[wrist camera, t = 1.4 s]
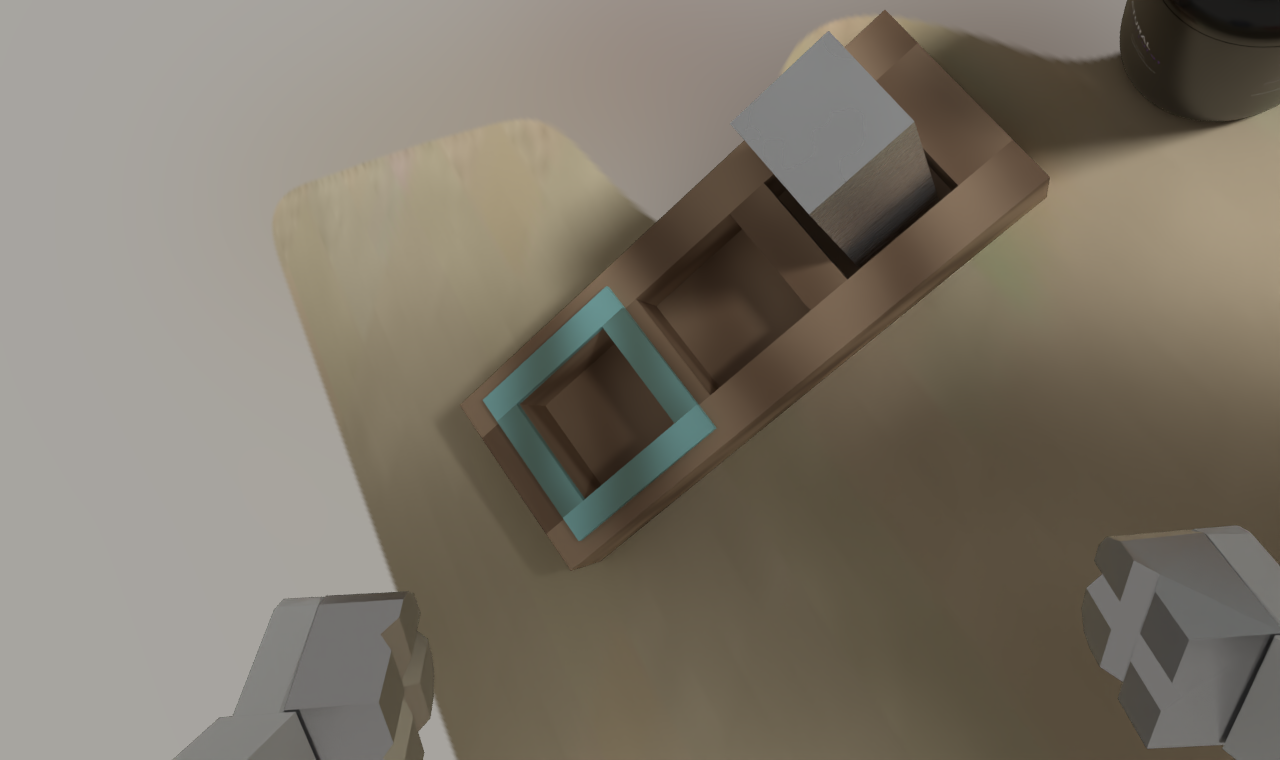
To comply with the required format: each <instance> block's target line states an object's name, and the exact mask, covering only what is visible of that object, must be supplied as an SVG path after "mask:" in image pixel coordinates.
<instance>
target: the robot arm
mask: <svg viewBox="0 0 1280 760" xmlns="http://www.w3.org/2000/svg"><path fill="white" fill-rule="evenodd" d="M1094 561H1095V563H1096V565H1097V566H1098V568H1099V569H1100V571H1101V573H1102V575H1101V576H1100V577H1098V578H1097V579H1096V580H1095V581H1094V582H1093V583H1092V584H1090V585H1089V586H1088V587H1087V588H1086V592H1085V596H1084V601H1083V605H1082V617H1083V627H1084V633H1085V636H1086V639H1087V642H1088V645H1089V647H1090V650H1091V652H1092V653H1093V655H1094V657H1095V659H1096V661H1097V663H1098V664H1099V666H1100V667H1101V668H1102V669H1104V670H1105V671H1107V672H1108V673H1110V674H1111V675H1113V676H1114V677H1116V678H1117V679H1119V680H1120V681H1122V684H1121V689H1120V693H1119V697H1118V700H1119V701H1120V703H1121V705H1122V707H1123V708H1124V710H1125V712H1126V714H1127V715H1128V717H1129V719H1130V721H1131V722H1132V724H1133V726H1134V727H1135V729H1136V731H1137V733H1138V734H1139V736H1140V738H1141V740H1142V741H1143V743H1144V745H1145V747H1146V748H1147V749H1151V748H1171V747H1191V746H1211V745H1224V746H1223V748H1222V749H1223V750H1225V751H1226V752H1227V753H1228V754H1230V755H1231V756H1232V757H1233V758H1235V759H1236V760H1280V565H1279V564H1278V563H1277V562H1276V561H1275V560H1274V559H1273V557H1272V556H1271V555H1270V554H1269V553H1268V552H1267V551H1266V549H1265V548H1264V547H1263V546H1262V545H1261V544H1260V543H1259V542H1258V540H1257V539H1256V538H1255V537H1254V536H1253V535H1252V534H1251V533H1250V532H1249V531H1248V530H1246V529H1244V528H1242V527H1240V526H1238V525H1235V526H1223V527H1211V528H1200V529H1193V530H1176V531H1165V532H1154V533H1142V534H1131V535H1119V536H1108V537H1106V538H1105V539H1104V540H1103V541H1102V542H1101V544H1100V545H1099V547H1098V550H1097V553H1096V557H1095V560H1094ZM419 618H420V610H419V607H418V604H417V601H416V598H415V595H414V593H411V592H389V593H371V594H353V595H334V596H333V595H332V596H326V597H311V598H291V599H283V601H282V602H281V603H280V604H279V605H278V606H277V607H276V608H275V610H274V611H273V614H272V616H271V619H270V622H269V624H268V627H267V629H266V632H265V634H264V637H263V640H262V642H261V645H260V647H259V650H258V652H257V655H256V657H255V660H254V662H253V665H252V668H251V670H250V673H249V675H248V678H247V681H246V683H245V686H244V688H243V691H242V694H241V696H240V698H239V701H238V704H237V706H236V709H235V711H234V714H233V716H230V717H221V718H219V719H217V720H216V721H215V722H214V723H213V724H212V725H211V726H210V727H208V728H207V729H206V730H205V731H204V732H203V733H202V734H201V735H200V736H199V737H197V738H196V739H195V740H194V741H193V742H192V743H191V744H189V746H187V747H186V748H185V749H184V750H183V751H182V752H181V753H180V754H178V755H177V756H176V757H175V758H174V759H173V760H423V756H424V750H423V747H422V743H421V740H420V737H419V734H418V731H419V730H420V729H421V728H422V727H423V726H424V725H425V724H426V722H427V721H428V720H429V719H430V716H431V710H432V704H433V697H434V666H433V658H432V652H431V648H430V645H429V641H428V639H427V638H426V637H425V636H423V635H422V634H420V633H419V632H418V631H417V628H418V623H419Z"/></svg>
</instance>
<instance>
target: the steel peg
mask: <svg viewBox="0 0 1280 760" xmlns="http://www.w3.org/2000/svg"><path fill="white" fill-rule="evenodd" d="M730 124H731V125H732V126H733V127H734V129H735V130H736V131H737V132H738V133H739V135H740V136H741V137H742V138H743V139H744V140H745V141H746V143H747V144H748V145H749V146H750V147H751V148H752V150H753V151H754V152H755V153H756V154H757V155H758V156H759V158H760V159H761V160H762V161H763V162H764V163H765V164H766V166H767V167H768V168H769V169H770V170H771V171H772V173H773V174H774V175H775V176H776V177H777V178H778V179H779V181H780V182H781V183H782V184H783V185H784V186H785V187H786V189H787V190H788V191H789V192H790V193H791V194H792V196H793V197H794V198H795V199H796V200H797V201H798V202H799V204H800V205H801V206H802V207H803V208H804V209H805V211H806V212H807V213H808V214H809V215H810V216H811V217H812V218H813V219H814V220H815V221H816V223H817V224H818V225H819V226H820V227H821V228H822V229H823V230H824V231H825V232H826V233H827V234H828V235H829V236H830V237H831V239H832V240H833V241H834V242H835V243H836V244H837V245H838V246H839V247H840V248H841V249H842V250H843V251H844V252H845V254H846V255H847V256H848V257H849V258H850V259H851V260H852V261H853V262H854V263H855V264H856V265H857V266H858V267H859V268H860V267H861V266H862V265H863V264H864V263H865V262H867V261H868V260H869V259H870V258H871V257H873V256H874V255H875V254H876V253H877V252H878V251H880V250H881V249H882V248H883V247H884V246H886V245H887V244H888V243H889V242H890V241H891V240H893V239H894V238H895V237H896V236H897V235H899V234H900V233H901V232H902V231H903V230H904V229H906V228H907V227H908V226H909V225H910V224H912V223H913V222H914V221H915V220H916V219H917V218H919V217H920V216H921V215H922V214H923V213H925V212H926V211H927V210H928V209H929V208H930V207H932V206H933V205H934V204H935V203H936V202H938V201H939V199H938V196H937V192H936V189H935V186H934V183H933V179H932V176H931V173H930V170H929V167H928V163H927V160H926V157H925V154H924V150H923V147H922V144H921V141H920V138H919V134H918V131H917V128H916V125H915V121H914V120H913V119H912V118H911V117H910V116H909V115H908V114H907V113H906V112H905V111H904V110H903V109H902V108H901V107H900V106H899V105H898V104H897V103H896V101H895V100H894V99H893V98H892V97H891V96H890V95H889V94H888V93H887V92H886V91H885V90H884V89H883V88H882V87H881V86H880V85H879V84H878V83H877V81H876V80H875V79H874V78H873V77H872V76H871V75H870V74H869V73H868V72H867V71H866V70H865V69H864V68H863V67H862V66H861V65H860V64H859V62H858V61H857V60H856V59H855V58H854V57H853V56H852V55H851V54H850V53H849V52H848V51H847V50H846V49H845V48H844V47H843V46H842V45H841V44H840V42H839V41H838V40H837V39H836V38H835V37H834V36H833V35H832V34H831V33H830V32H829V31H828V32H827V33H826V34H825V35H823V36H822V37H821V38H820V39H819V40H818V41H817V42H816V43H815V44H814V45H813V46H812V47H811V48H810V49H809V50H808V51H806V52H805V53H804V54H803V55H802V56H801V57H800V58H799V59H798V60H797V61H796V62H795V63H794V64H793V65H792V66H791V67H789V68H788V69H787V70H786V71H785V72H784V73H783V74H782V75H781V76H780V77H779V78H778V79H777V80H776V81H775V82H774V83H773V84H771V85H770V86H769V87H768V88H767V89H766V90H765V91H764V92H763V93H762V94H761V95H760V96H759V97H758V98H757V99H756V100H754V101H753V102H752V103H751V104H750V105H749V106H748V107H747V108H746V109H745V110H744V111H743V112H742V113H741V114H740V115H738V116H737V117H736V118H735V119H734V120H733V121H732V122H731V123H730Z"/></svg>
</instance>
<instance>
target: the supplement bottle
mask: <svg viewBox="0 0 1280 760" xmlns="http://www.w3.org/2000/svg"><path fill="white" fill-rule="evenodd" d="M1120 51H1121V57H1122V61H1123V64H1124V67H1125V70H1126V72H1127V74H1128V76H1129V78H1130V80H1131V81H1132V83H1133V84H1134V85H1135V87H1136V88H1137V89H1138V90H1139V92H1140V93H1141V94H1142V95H1143V96H1144V97H1146V98H1147V99H1148V100H1149V101H1150V102H1152V103H1153V104H1154V105H1156V106H1157V107H1159V108H1161V109H1163V110H1164V111H1167V112H1169V113H1171V114H1174V115H1176V116H1179V117H1183V118H1187V119H1191V120H1198V121H1209V122H1216V121H1230V120H1237V119H1242V118H1246V117H1250V116H1253V115H1256V114H1259V113H1262V112H1265V111H1267V110H1269V109H1271V108H1273V107H1275V106H1277V105H1279V104H1280V0H1127V3H1126V6H1125V10H1124V14H1123V18H1122V23H1121V30H1120Z"/></svg>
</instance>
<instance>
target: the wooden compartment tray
mask: <svg viewBox="0 0 1280 760" xmlns="http://www.w3.org/2000/svg"><path fill="white" fill-rule="evenodd" d="M844 48H845V49H846V50H847V51H848V52H849V53H850V54H851V55H852V56H853V57H854V58H855V59H856V60H857V61H858V62H859V64H860V65H861V66H862V67H863V68H864V69H865V70H866V71H867V72H868V73H869V74H870V75H871V76H872V77H873V78H874V79H875V80H876V81H877V83H878V84H879V85H880V86H881V87H882V88H883V89H884V90H885V91H886V92H887V93H888V94H889V95H890V96H891V97H892V98H893V99H894V100H895V101H896V103H897V104H898V105H899V106H900V107H901V108H902V109H903V110H904V111H905V112H906V113H907V114H908V115H909V116H910V117H911V118H912V119H913V120H914V121H915V125H916V128H917V131H918V134H919V138H920V141H921V144H922V147H923V150H924V154H925V157H926V160H927V163H928V167H929V170H930V173H931V176H932V179H933V183H934V186H935V189H936V192H937V196H938V199H939V201H938V202H936V203H935V204H934V205H933V206H932V207H930V208H929V209H928V210H927V211H926V212H925V213H923V214H922V215H921V216H920V217H919V218H917V219H916V220H915V221H914V222H913V223H912V224H910V225H909V226H908V227H907V228H906V229H904V230H903V231H902V232H901V233H900V234H899V235H897V236H896V237H895V238H894V239H893V240H891V241H890V242H889V243H888V244H887V245H886V246H884V247H883V248H882V249H881V250H880V251H878V252H877V253H876V254H875V255H874V256H873V257H871V258H870V259H869V260H868V261H867V262H865V263H864V264H863V265H862V266H861V267H860V268H859V267H858V266H857V265H856V264H855V263H854V262H853V261H852V260H851V259H850V258H849V257H848V256H847V255H846V254H845V252H844V251H843V250H842V249H841V248H840V247H839V246H838V245H837V244H836V243H835V242H834V241H833V240H832V239H831V237H830V236H829V235H828V234H827V233H826V232H825V231H824V230H823V229H822V228H821V227H820V226H819V225H818V224H817V223H816V221H815V220H814V219H813V218H812V217H811V216H810V215H809V214H808V213H807V212H806V211H805V209H804V208H803V207H802V206H801V205H800V204H799V202H798V201H797V200H796V199H795V198H794V197H793V196H792V194H791V193H790V192H789V191H788V190H787V189H786V187H785V186H784V185H783V184H782V183H781V182H780V181H779V179H778V178H777V177H776V176H775V175H774V174H773V173H772V171H771V170H770V169H769V168H768V167H767V166H766V164H765V163H764V162H763V161H762V160H761V159H760V158H759V156H758V155H757V154H756V153H755V152H754V151H753V150H752V148H751V147H750V146H749V145H748V144H747V143H746V141H745V140H744V141H743V142H742V143H741V144H740V145H739V146H738V147H737V148H736V149H735V150H733V151H732V152H731V153H730V154H729V155H728V156H727V157H726V158H725V159H724V160H723V161H722V162H721V163H720V164H718V165H717V166H716V167H715V168H714V169H713V170H712V171H711V172H710V173H709V174H708V175H707V176H706V177H705V178H704V179H702V180H701V181H700V182H699V183H698V184H697V185H696V186H695V187H694V188H693V189H692V190H690V191H689V192H688V193H687V194H686V195H685V196H684V197H683V198H682V199H681V200H680V201H679V202H678V203H677V204H676V205H674V206H673V207H672V208H671V209H670V210H669V211H668V212H667V213H666V214H665V215H664V216H663V217H661V219H659V220H658V221H657V222H656V223H655V224H654V225H653V226H652V227H651V228H650V229H649V230H647V231H646V232H645V233H644V234H643V235H642V236H641V237H640V238H639V239H638V240H637V241H636V242H635V243H633V244H632V245H631V246H630V247H629V248H628V249H627V250H626V251H625V252H624V253H623V254H622V255H621V256H619V257H618V258H617V259H616V260H615V261H614V262H613V263H612V264H611V265H610V266H609V267H608V268H607V269H606V270H604V271H603V272H602V273H601V274H600V275H599V276H598V277H597V278H596V279H595V280H594V281H593V282H592V283H590V284H589V285H588V286H587V287H586V288H585V289H584V290H583V291H582V292H581V293H580V294H579V295H578V296H576V297H575V298H574V299H573V300H572V301H571V302H570V303H569V304H568V305H567V306H566V307H565V308H564V309H562V310H561V311H560V312H559V313H558V314H557V315H556V316H555V317H554V318H553V319H552V320H551V321H550V322H549V323H547V324H546V325H545V326H544V327H543V328H542V329H541V330H540V331H539V332H538V333H537V334H536V335H535V336H533V337H532V338H531V339H530V340H529V341H528V342H527V343H526V344H525V345H524V346H523V347H522V348H521V349H519V350H518V351H517V352H516V353H515V354H514V355H513V356H512V357H511V358H510V359H509V360H508V361H507V362H506V363H504V364H503V365H502V366H501V367H500V368H499V369H498V370H497V371H496V372H495V373H494V374H493V375H492V376H490V377H489V378H488V379H487V380H486V381H485V382H484V383H483V384H482V385H481V386H480V387H479V388H478V389H476V390H475V391H474V392H473V393H472V394H471V395H470V396H469V397H468V398H467V399H466V400H465V401H464V402H462V403H461V404H460V406H461V408H462V409H463V411H464V412H465V414H466V415H467V417H468V418H469V420H470V421H471V423H472V424H473V426H474V427H475V429H476V430H477V432H478V433H479V435H480V436H481V438H482V439H483V441H484V442H485V444H486V445H487V447H488V448H489V450H490V451H491V453H492V454H493V456H494V457H495V459H496V460H497V461H498V463H499V464H500V466H501V467H502V469H503V470H504V472H505V473H506V475H507V476H508V478H509V479H510V481H511V482H512V484H513V485H514V487H515V488H516V490H517V491H518V493H519V494H520V496H521V497H522V499H523V500H524V502H525V503H526V505H527V506H528V508H529V509H530V511H531V512H532V514H533V515H534V517H535V518H536V520H537V521H538V523H539V524H540V526H541V527H542V529H543V530H544V532H545V533H546V535H547V536H548V538H549V539H550V540H551V542H552V543H553V545H554V546H555V548H556V549H557V551H558V552H559V554H560V555H561V557H562V558H563V560H564V561H565V563H566V564H567V566H568V567H569V569H570V570H571V571H572V570H575V569H578V568H581V567H584V566H587V565H590V564H593V563H597V562H600V561H601V560H602V559H604V558H605V557H606V556H607V555H609V554H610V553H611V552H612V551H613V550H615V549H616V548H617V547H618V546H620V545H621V544H622V543H623V542H624V541H626V540H627V539H628V538H629V537H631V536H632V535H633V534H634V533H636V532H637V531H638V530H639V529H640V528H642V527H643V526H644V525H645V524H647V523H648V522H649V521H650V520H651V519H653V518H654V517H655V516H656V515H658V514H659V513H660V512H661V511H662V510H664V509H665V508H666V507H667V506H669V505H670V504H671V503H672V502H673V501H675V500H676V499H677V498H678V497H680V496H681V495H682V494H683V493H685V492H686V491H687V490H688V489H689V488H691V487H692V486H693V485H694V484H696V483H697V482H698V481H699V480H700V479H702V478H703V477H704V476H705V475H707V474H708V473H709V472H710V471H711V470H713V469H714V468H715V467H716V466H718V465H719V464H720V463H721V462H722V461H724V460H725V459H726V458H727V457H729V456H730V455H731V454H732V453H734V452H735V451H736V450H737V449H738V448H740V447H741V446H742V445H743V444H745V443H746V442H747V441H748V440H749V439H751V438H752V437H753V436H754V435H756V434H757V433H758V432H759V431H760V430H762V429H763V428H764V427H765V426H767V425H768V424H769V423H770V422H771V421H773V420H774V419H775V418H776V417H778V416H779V415H780V414H781V413H783V412H784V411H785V410H786V409H787V408H789V407H790V406H791V405H792V404H794V403H795V402H796V401H797V400H798V399H800V398H801V397H802V396H803V395H805V394H806V393H807V392H808V391H809V390H811V389H812V388H813V387H814V386H816V385H817V384H818V383H819V382H820V381H822V380H823V379H824V378H825V377H827V376H828V375H829V374H830V373H832V372H833V371H834V370H835V369H836V368H838V367H839V366H840V365H841V364H843V363H844V362H845V361H846V360H847V359H849V358H850V357H851V356H852V355H854V354H855V353H856V352H857V351H858V350H860V349H861V348H862V347H863V346H865V345H866V344H867V343H868V342H870V341H871V340H872V339H873V338H874V337H876V336H877V335H878V334H879V333H881V332H882V331H883V330H884V329H885V328H887V327H888V326H889V325H890V324H892V323H893V322H894V321H895V320H896V319H898V318H899V317H900V316H901V315H903V314H904V313H905V312H906V311H907V310H909V309H910V308H911V307H912V306H914V305H915V304H916V303H917V302H919V301H920V300H921V299H922V298H923V297H925V296H926V295H927V294H928V293H930V292H931V291H932V290H933V289H934V288H936V287H937V286H938V285H939V284H941V283H942V282H943V281H944V280H945V279H947V278H948V277H949V276H950V275H952V274H953V273H954V272H955V271H956V270H958V269H959V268H960V267H961V266H963V265H964V264H965V263H966V262H968V261H969V260H970V259H971V258H972V257H974V256H975V255H976V254H977V253H979V252H980V251H981V250H982V249H983V248H985V247H986V246H987V245H988V244H990V243H991V242H992V241H993V240H994V239H996V238H997V237H998V236H999V235H1001V234H1002V233H1003V232H1004V231H1005V230H1007V229H1008V228H1009V227H1010V226H1012V225H1013V224H1014V223H1015V222H1017V221H1018V220H1019V219H1020V218H1021V217H1023V216H1024V215H1025V214H1026V213H1028V212H1029V211H1030V210H1031V209H1032V208H1034V207H1035V206H1036V205H1037V204H1039V203H1040V202H1041V201H1042V200H1043V199H1045V198H1046V197H1047V191H1048V185H1049V178H1050V177H1049V176H1048V175H1047V174H1046V173H1045V172H1044V171H1043V170H1042V169H1041V168H1040V167H1039V166H1038V165H1037V164H1036V163H1035V162H1034V161H1033V160H1032V159H1031V158H1030V157H1029V156H1028V155H1027V154H1026V152H1025V151H1024V150H1023V149H1022V148H1021V147H1020V146H1019V145H1018V144H1017V143H1016V142H1015V141H1014V140H1013V139H1012V138H1011V137H1010V136H1009V135H1008V134H1007V133H1006V132H1005V131H1004V130H1003V129H1002V128H1001V127H1000V126H999V125H998V124H997V123H996V122H995V121H994V120H993V119H992V118H991V117H990V116H989V115H988V114H987V113H986V112H985V111H984V110H983V109H982V108H981V107H980V106H979V105H978V104H977V103H976V102H975V101H974V100H973V99H972V98H971V97H970V96H969V95H968V94H967V93H966V92H965V90H964V89H963V88H962V87H961V86H960V85H959V84H958V83H957V82H956V81H955V80H954V79H953V78H952V77H951V76H950V75H949V74H948V73H947V72H946V71H945V70H944V69H943V68H942V67H941V66H940V65H939V64H938V63H937V62H936V61H935V60H934V59H933V58H932V57H931V56H930V55H929V54H928V53H927V52H926V51H925V50H924V49H923V48H922V47H921V46H920V45H919V44H918V43H917V42H916V41H915V40H914V39H913V38H912V37H911V36H910V35H909V34H908V33H907V32H906V31H905V30H904V28H903V27H902V26H901V25H900V24H899V23H898V22H897V21H896V20H895V19H894V18H893V17H892V16H891V15H890V14H889V13H888V12H887V11H886V10H884V11H883V12H882V13H881V14H880V15H879V16H878V17H876V18H875V19H874V20H873V21H872V22H871V23H870V24H869V25H868V26H867V27H866V28H865V29H864V30H863V31H861V32H860V33H859V34H858V35H857V36H856V37H855V38H854V39H853V40H852V41H851V42H850V43H849V44H847V45H846V46H845V47H844Z"/></svg>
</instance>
